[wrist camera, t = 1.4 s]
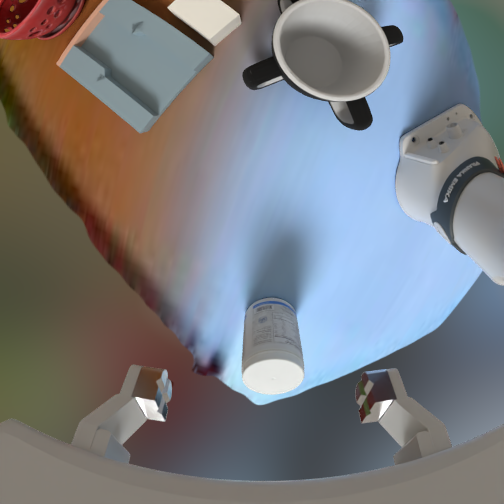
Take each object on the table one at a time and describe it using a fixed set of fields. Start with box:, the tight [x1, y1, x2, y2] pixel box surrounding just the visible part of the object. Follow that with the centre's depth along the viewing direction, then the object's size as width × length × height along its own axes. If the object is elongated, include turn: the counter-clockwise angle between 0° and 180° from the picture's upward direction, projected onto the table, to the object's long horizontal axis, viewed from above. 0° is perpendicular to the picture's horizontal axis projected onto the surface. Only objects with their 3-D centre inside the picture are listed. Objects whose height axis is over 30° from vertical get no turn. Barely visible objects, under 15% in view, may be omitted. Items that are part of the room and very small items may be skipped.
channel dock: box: [56, 0, 214, 133], centre depth 30 cm, size 14×20×3 cm
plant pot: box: [0, 0, 85, 40], centre depth 19 cm, size 13×13×12 cm
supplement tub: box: [242, 298, 304, 394], centre depth 46 cm, size 10×10×15 cm
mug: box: [243, 0, 403, 130], centre depth 26 cm, size 16×16×12 cm
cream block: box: [167, 0, 241, 46], centre depth 27 cm, size 5×8×4 cm, turn 44°
